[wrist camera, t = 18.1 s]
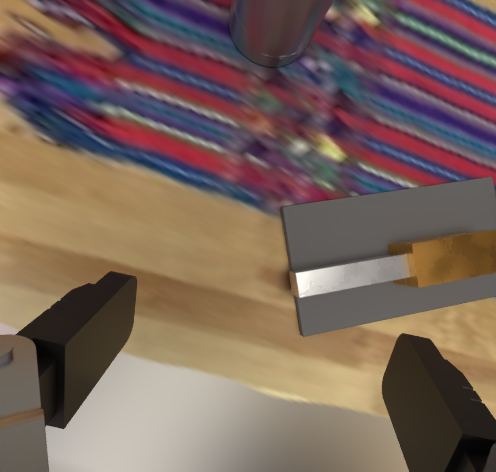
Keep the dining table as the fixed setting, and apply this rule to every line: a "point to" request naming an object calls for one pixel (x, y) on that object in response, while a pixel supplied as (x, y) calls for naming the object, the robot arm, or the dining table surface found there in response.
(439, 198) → the mat
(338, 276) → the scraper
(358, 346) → the dining table surface
